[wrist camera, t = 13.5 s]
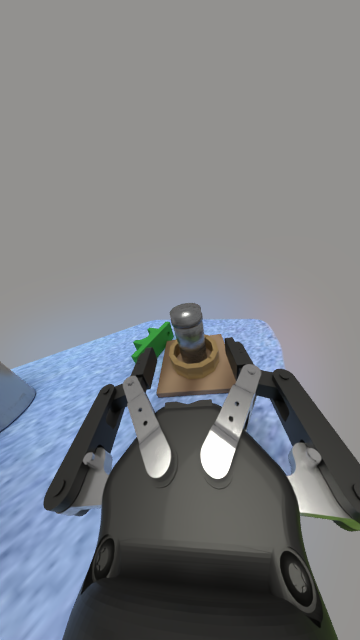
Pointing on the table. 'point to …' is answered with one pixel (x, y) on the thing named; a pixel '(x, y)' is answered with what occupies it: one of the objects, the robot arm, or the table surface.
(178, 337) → the grey lidded jar
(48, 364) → the table surface
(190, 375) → the ring seat
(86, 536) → the table surface
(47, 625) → the table surface
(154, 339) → the green bracket
